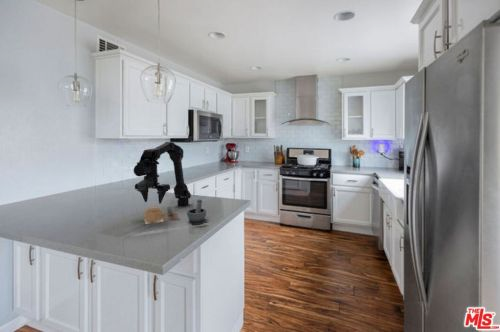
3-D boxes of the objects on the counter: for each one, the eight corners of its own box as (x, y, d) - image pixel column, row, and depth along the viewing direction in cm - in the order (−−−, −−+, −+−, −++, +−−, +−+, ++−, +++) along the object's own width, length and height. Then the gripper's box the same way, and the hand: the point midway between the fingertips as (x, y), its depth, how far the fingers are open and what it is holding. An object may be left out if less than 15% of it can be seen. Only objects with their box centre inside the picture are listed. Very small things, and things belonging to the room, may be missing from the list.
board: (176, 215, 150) (176, 204, 150) (180, 222, 138) (180, 210, 137) (143, 219, 143) (142, 208, 142) (144, 227, 130) (143, 215, 130)
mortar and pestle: (202, 227, 130) (201, 204, 129) (184, 226, 132) (184, 203, 130) (209, 220, 141) (208, 198, 140) (193, 219, 143) (192, 198, 141)
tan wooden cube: (162, 218, 138) (161, 207, 138) (154, 222, 133) (154, 210, 132) (153, 217, 141) (152, 206, 140) (145, 221, 135) (144, 209, 134)
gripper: (125, 174, 129) (127, 205, 131) (155, 176, 123) (156, 208, 125) (141, 172, 140) (143, 200, 142) (170, 173, 133) (171, 202, 135)
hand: (152, 202), depth 135 cm, fingers open, 9 cm apart
